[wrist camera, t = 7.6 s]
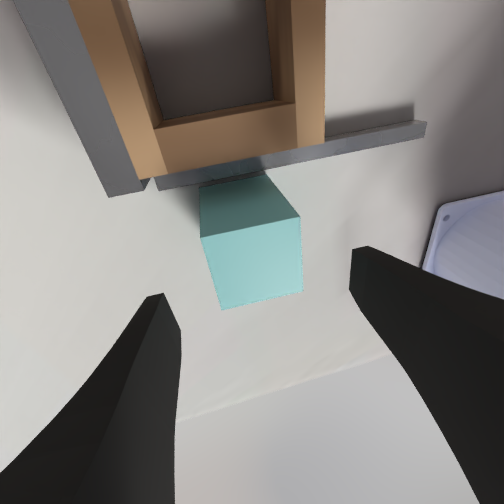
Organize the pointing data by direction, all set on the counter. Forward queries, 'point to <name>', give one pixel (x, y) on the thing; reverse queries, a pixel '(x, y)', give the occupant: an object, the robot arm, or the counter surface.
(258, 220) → the aqua rectangular prism
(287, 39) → the brown rectangular frame
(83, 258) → the counter surface
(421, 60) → the counter surface
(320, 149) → the backstop
